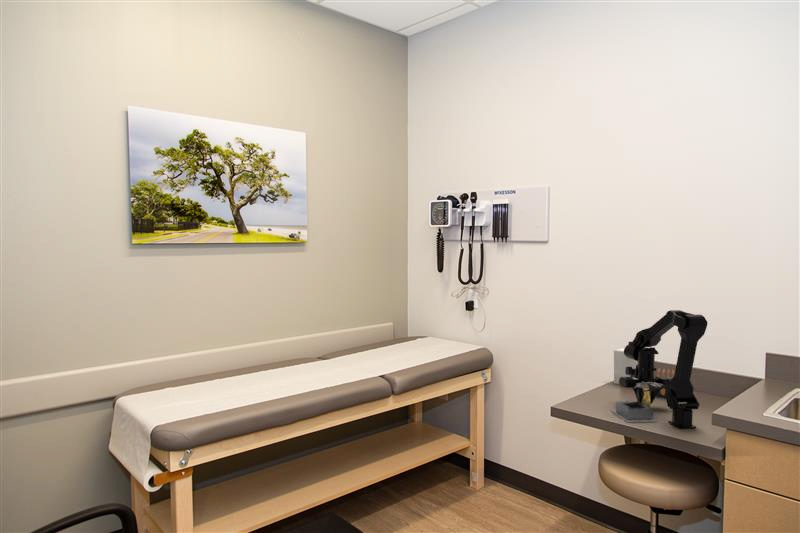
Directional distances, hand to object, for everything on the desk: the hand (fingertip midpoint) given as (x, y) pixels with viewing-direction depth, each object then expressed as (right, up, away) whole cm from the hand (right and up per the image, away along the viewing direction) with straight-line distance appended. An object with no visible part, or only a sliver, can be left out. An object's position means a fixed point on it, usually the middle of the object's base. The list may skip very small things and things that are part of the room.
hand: (644, 403), depth 203 cm
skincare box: (+7, 0, +34) cm, 35 cm away
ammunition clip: (+17, -1, +14) cm, 22 cm away
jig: (-9, -2, -11) cm, 14 cm away
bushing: (0, -2, 0) cm, 2 cm away
